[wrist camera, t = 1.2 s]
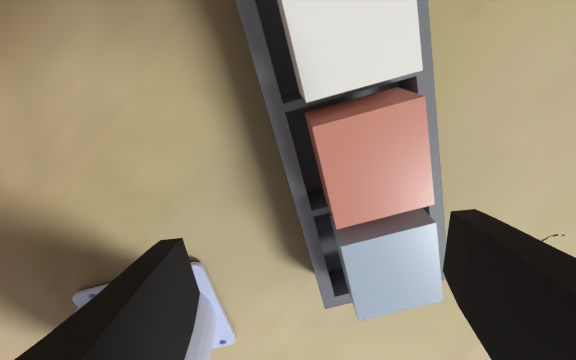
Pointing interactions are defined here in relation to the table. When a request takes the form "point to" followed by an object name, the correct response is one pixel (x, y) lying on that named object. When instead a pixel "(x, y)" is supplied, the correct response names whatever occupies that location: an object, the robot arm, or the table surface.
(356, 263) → the light blue square block
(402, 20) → the ivory key
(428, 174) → the brick key
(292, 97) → the key housing
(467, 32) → the table surface
